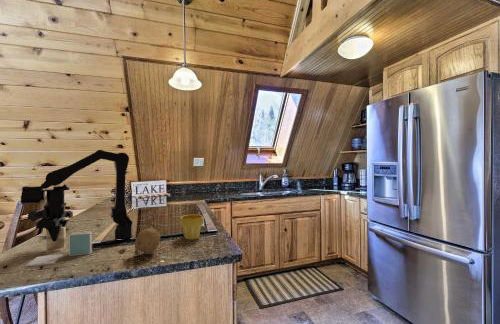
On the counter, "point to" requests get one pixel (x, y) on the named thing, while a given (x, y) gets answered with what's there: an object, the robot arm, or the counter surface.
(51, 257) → the rest mat
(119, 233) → the robot arm
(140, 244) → the natural sponge
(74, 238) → the tile
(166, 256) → the counter surface
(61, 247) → the tan upright block
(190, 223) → the plant pot
